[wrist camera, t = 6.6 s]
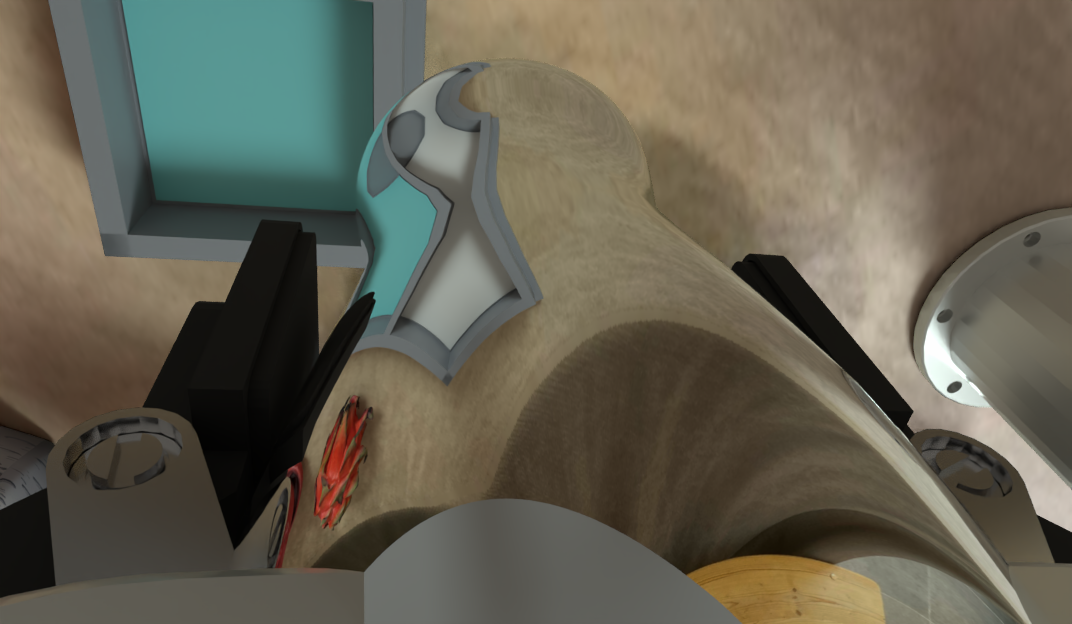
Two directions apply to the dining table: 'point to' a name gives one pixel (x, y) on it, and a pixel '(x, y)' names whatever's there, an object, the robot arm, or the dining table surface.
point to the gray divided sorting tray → (232, 116)
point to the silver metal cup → (589, 405)
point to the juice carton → (21, 465)
